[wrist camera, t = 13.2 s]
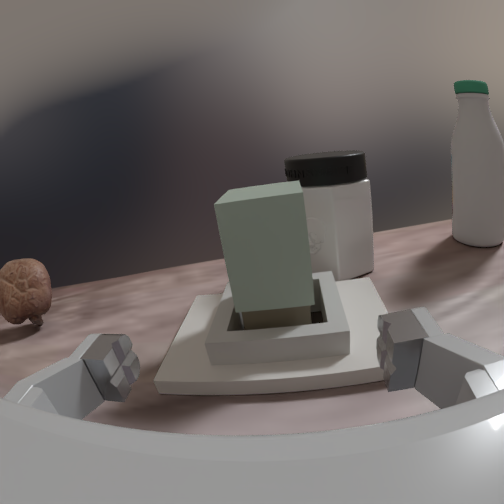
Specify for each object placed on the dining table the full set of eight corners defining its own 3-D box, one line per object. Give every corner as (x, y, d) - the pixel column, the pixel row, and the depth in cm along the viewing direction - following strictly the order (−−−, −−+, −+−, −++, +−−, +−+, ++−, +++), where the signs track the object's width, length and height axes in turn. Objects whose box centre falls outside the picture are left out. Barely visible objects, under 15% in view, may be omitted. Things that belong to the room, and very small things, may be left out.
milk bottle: (514, 245, 30) (509, 82, 23) (468, 251, 31) (459, 75, 24) (485, 227, 37) (478, 87, 30) (442, 232, 38) (432, 83, 32)
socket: (369, 289, 28) (368, 258, 27) (409, 375, 17) (415, 336, 16) (199, 306, 30) (192, 278, 29) (159, 393, 19) (144, 359, 18)
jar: (280, 276, 34) (263, 162, 30) (316, 249, 40) (305, 153, 36) (359, 289, 28) (351, 156, 24) (384, 256, 34) (378, 149, 30)
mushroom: (72, 312, 33) (49, 248, 30) (43, 340, 27) (14, 270, 24) (33, 313, 34) (12, 255, 31) (5, 337, 28) (-21, 275, 26)
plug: (313, 316, 26) (299, 180, 22) (318, 354, 21) (303, 192, 17) (252, 322, 26) (228, 190, 23) (246, 360, 22) (214, 204, 18)
